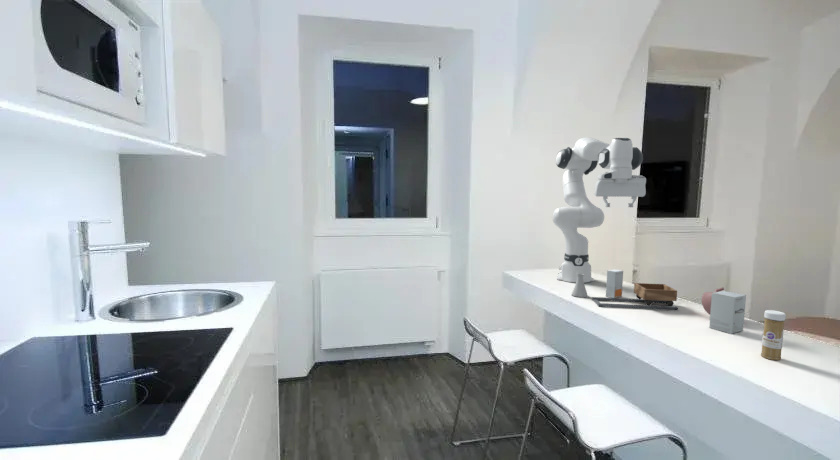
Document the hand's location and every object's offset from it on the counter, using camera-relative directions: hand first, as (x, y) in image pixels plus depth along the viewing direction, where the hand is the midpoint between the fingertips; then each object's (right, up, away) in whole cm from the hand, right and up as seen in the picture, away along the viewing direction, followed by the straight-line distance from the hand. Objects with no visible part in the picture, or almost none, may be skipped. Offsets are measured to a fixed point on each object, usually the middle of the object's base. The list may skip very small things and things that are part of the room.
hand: (619, 207), depth 183 cm
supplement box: (+19, -44, -38) cm, 62 cm away
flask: (-14, -40, +7) cm, 43 cm away
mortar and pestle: (+26, -43, -25) cm, 56 cm away
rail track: (+2, -41, -7) cm, 42 cm away
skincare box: (+1, -40, +6) cm, 41 cm away
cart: (+10, -40, -9) cm, 42 cm away
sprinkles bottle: (+14, -47, -63) cm, 79 cm away
